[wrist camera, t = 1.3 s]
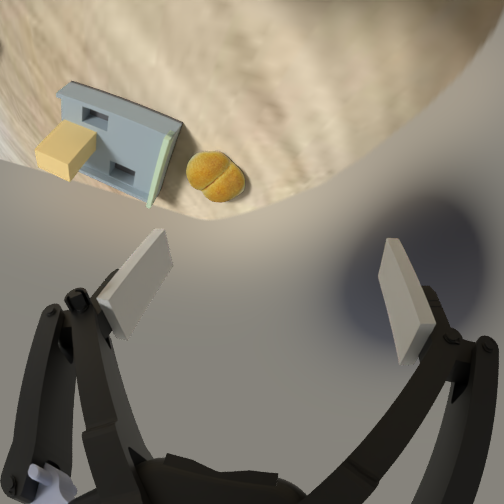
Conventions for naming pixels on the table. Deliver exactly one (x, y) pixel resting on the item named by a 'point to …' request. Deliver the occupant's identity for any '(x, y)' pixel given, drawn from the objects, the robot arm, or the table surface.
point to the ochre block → (66, 149)
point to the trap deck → (122, 139)
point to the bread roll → (215, 176)
